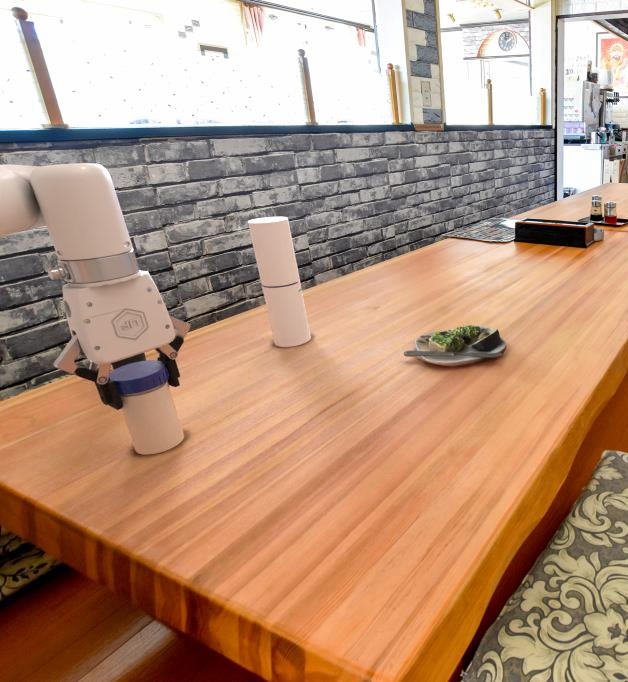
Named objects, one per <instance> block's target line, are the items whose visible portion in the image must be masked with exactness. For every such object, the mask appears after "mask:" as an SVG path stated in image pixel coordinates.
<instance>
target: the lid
mask: <svg viewBox="0 0 628 682" xmlns="http://www.w3.org/2000/svg"><path fill="white" fill-rule="evenodd" d="M109 378H110V380H112V381H114V382H115V384H116V386H117V389H118V392H119V394H122V395H125V394H135V393H140V392H144V391H147V390H151V389H153V388H156V387H158V386H160V385H162V384H163V383H165V382H166V381H167V380H168V379H169V373H168V370H167V368H166V366H165V363H164V362H162V361H158V360H157V359H149V360H147V359H146V361H140V362H135V363H131V364H127V365H124V366H122V367H119V368H117V369H115V370H114V369H113V370H111V371H110V374H109Z"/></svg>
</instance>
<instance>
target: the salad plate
mask: <svg viewBox="0 0 628 682" xmlns="http://www.w3.org/2000/svg"><path fill="white" fill-rule="evenodd" d="M414 346H415V350H405V351H404V352H403V356H404V357H409V358H415V359H419V360H421V361H423V362H426V363H429V364H433V365H438V366H442V367H443V366H444V367H459V366H460V367H461V366H467V365H475V364H482V363H487V362H492V361H495V360H497V359H499V358H501V357H502V356H504V352H505V351H506V349H507V343H506V342H505V340H504V339H503V338H502V337H501V335H500V331H499V329H498V328H496V329H493V328H491V327H489V326H486V325H485V326H484V325H477V324H476V325H471V324H470V325H469V324H468V325H462V326H460V325H459V326H456V327H455V328H451V329H446V330H437V331H430V332H427V333H424V334H421V335H419V336H418V337H417V338H416V339H415V340H414Z"/></svg>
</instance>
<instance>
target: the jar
mask: <svg viewBox="0 0 628 682" xmlns="http://www.w3.org/2000/svg"><path fill="white" fill-rule="evenodd" d="M119 395H120V398H121V400H122V403H123V407H122V409H120V410H121V414H122V416H123V418H124V422H125V425H126V427H127V431H128V433H129V436H130V439H131V442H132V445H133V448H134V451H135V453H137V454H140V455H146V456H147V455H156V454H159V453H163V452H166V451H169V450H171V449H173V448H175V447H177V446H178V445H179V444H181V443H182V442H183V441H184V439H185V433H184V429H183V427H182V423H181V419H180V416H179V414H178V411H177V407H176V404H175V400H174V396H173V394H172V390H171V386H170V385H169V384H168V380H167V381H166V382H165V383H163V384H162V385H160V386H158V387H156V388H153V389H151V390H147V391H144V392H140V393H135V394H125V395H122V394H119Z"/></svg>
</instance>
